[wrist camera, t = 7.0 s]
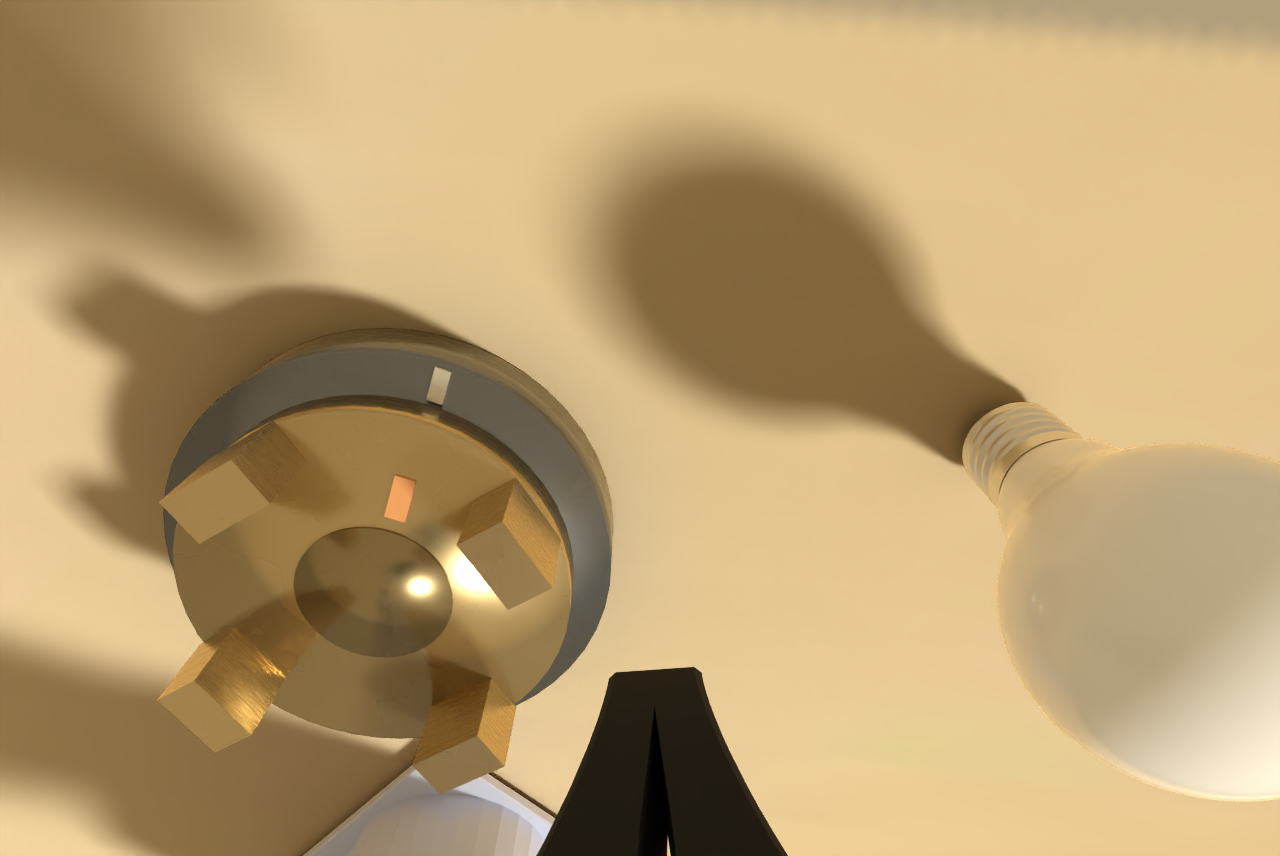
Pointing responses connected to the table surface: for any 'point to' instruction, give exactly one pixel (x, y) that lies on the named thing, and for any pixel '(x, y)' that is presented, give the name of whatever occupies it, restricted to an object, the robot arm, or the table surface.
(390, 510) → the brass lugged disc
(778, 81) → the table surface
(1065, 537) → the lightbulb
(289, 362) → the cap base
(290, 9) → the table surface
